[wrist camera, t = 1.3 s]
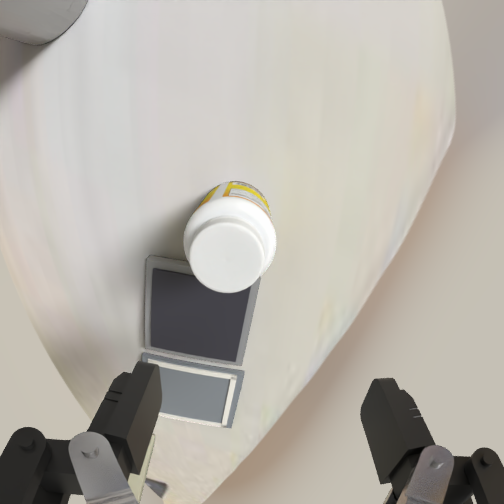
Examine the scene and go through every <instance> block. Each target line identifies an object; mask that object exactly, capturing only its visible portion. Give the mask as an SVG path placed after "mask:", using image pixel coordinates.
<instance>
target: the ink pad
mask: <svg viewBox="0 0 504 504" xmlns="http://www.w3.org/2000/svg"><path fill="white" fill-rule="evenodd" d="M260 280H261V276H260V277H259V278H258V279H257V280H256V281H255V282H254V283H253V284H252V285H251V286H249V287H248V288H246V289H244V290H242V291H239V292H234V293H222V292H217V291H214V290H211V289H209V288H208V287H206V286H205V285H203V284H202V283H201V282H200V281H199V280H198V279H197V278H196V276H195V275H194V273H193V271H192V269H191V266H190V264H189V262H186V261H181V260H175V259H169V258H164V257H158V256H153V255H150V256H149V257H148V258H147V260H146V285H145V349H150V350H154V351H159V352H163V353H168V354H173V355H178V356H183V357H189V358H194V359H199V360H205V361H211V362H217V363H223V364H230V365H237V366H242V362H243V358H244V353H245V349H246V344H247V340H248V335H249V331H250V326H251V322H252V317H253V312H254V308H255V303H256V298H257V294H258V289H259V284H260Z"/></svg>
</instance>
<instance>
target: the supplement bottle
mask: <svg viewBox="0 0 504 504" xmlns="http://www.w3.org/2000/svg"><path fill="white" fill-rule="evenodd" d="M183 245H184V251H185V255H186V258H187V260H188V262H189V264H190V266H191V269H192V271H193V273H194V275H195V276H196V278H197V279H198V280H199V281H200V282H201V283H202V284H203V285H205V286H206V287H208V288H209V289H211V290H214V291H217V292H222V293H234V292H239V291H242V290H244V289H246V288H248V287H249V286H251V285H252V284H253V283H254V282H255V281H256V280H257V279H258V278H259V277H260V276H261V275H262V274H263V273H264V272H265V271H266V270H267V269H268V267H269V266H270V264H271V262H272V260H273V258H274V255H275V251H276V233H275V229H274V225H273V222H272V218H271V214H270V210H269V206H268V204H267V201H266V199H265V198H264V196H263V195H262V193H261V192H260V191H259V190H258V189H256V188H255V187H254V186H252V185H250V184H247V183H245V182H240V181H230V182H225V183H222V184H220V185H218V186H217V187H215V188H214V189H212V190H211V191H210V192H209V193H208V195H207V196H206V197H205V199H204V200H203V201H202V203H201V204H200V205H199V207H198V208H197V209H196V210H195V212H194V213H193V215H192V216H191V218H190V219H189V221H188V223H187V225H186V228H185V232H184V238H183Z"/></svg>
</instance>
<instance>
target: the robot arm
mask: <svg viewBox="0 0 504 504" xmlns="http://www.w3.org/2000/svg"><path fill="white" fill-rule="evenodd" d="M87 1H88V0H0V36H3V37H6V38H10V39H13V40H17V41H21V42H24V43H28V44H31V45H40V44H44V43H47V42H49V41H52V40H53V39H55V38H56V37H58V36H59V35H61V34H62V33H63V32H64V31H66V30H67V29H68V28H69V27H70V26H71V25H72V24H73V23H74V21H75V20H76V19H77V18H78V16H79V15H80V14H81V12H82V10H83V9H84V7H85V5H86V3H87ZM161 404H162V387H161V378H160V369H159V365H158V364H153V363H147V362H141V361H138V362H137V364H136V366H135V368H134V370H133V372H132V373H127V372H123V373H122V374H120V375H119V376H118V377H117V378H115V379H114V380H113V382H112V384H111V386H110V388H109V391H108V392H107V393H106V395H105V397H104V400H103V401H102V403H101V405H100V407H99V409H98V411H97V413H96V415H95V417H94V419H93V421H92V423H91V425H90V427H89V429H88V430H87V432H83V433H80V434H78V435H76V436H75V437H74V438H73V439H72V440H54V439H46V438H45V437H44V435H43V434H42V433H41V432H40V431H39V430H37V429H35V428H32V427H24V428H21V429H18V430H17V431H16V432H14V433H13V435H12V436H11V438H10V440H9V442H8V443H7V445H6V447H5V449H4V451H3V453H2V455H1V456H0V504H68V501H69V497H70V495H71V494H77V495H84V497H85V500H86V502H87V504H139V503H138V501H137V499H136V497H135V495H134V494H133V492H132V490H131V488H130V486H129V484H128V479H129V476H130V473H132V474H136V475H140V472H141V469H142V466H143V462H144V459H145V456H146V453H147V449H148V446H149V443H150V440H151V437H152V433H153V430H154V427H155V424H156V421H157V418H158V415H159V412H160V409H161ZM360 415H361V421H362V424H363V428H364V431H365V434H366V437H367V440H368V444H369V446H370V450H371V453H372V457H373V460H374V464H375V467H376V470H377V474H378V477H379V481H380V484H385V483H391V484H392V488H391V490H390V491H389V493H388V495H387V497H386V499H385V501H384V503H383V504H473V502H472V499H471V496H472V495H473V494H474V496H475V499H476V502H477V504H504V467H503V465H502V463H501V461H500V459H499V457H498V455H497V454H496V453H495V452H494V451H493V450H491V449H489V448H479V449H477V450H476V451H475V452H474V453H473V454H472V456H471V457H463V456H453V455H452V454H451V452H450V451H449V450H447V449H446V448H444V447H442V446H439V445H435V442H434V440H433V438H432V436H431V434H430V432H429V430H428V428H427V426H426V424H425V422H424V419H423V417H421V413H420V411H419V410H418V409H417V406H416V404H415V402H414V400H413V398H412V397H411V396H410V395H409V394H408V393H407V392H406V391H405V390H400V389H399V387H398V385H397V383H396V381H395V379H393V378H381V379H374V380H373V381H372V383H371V386H370V388H369V390H368V393H367V395H366V397H365V400H364V402H363V404H362V407H361V414H360Z"/></svg>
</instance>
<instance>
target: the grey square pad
mask: <svg viewBox="0 0 504 504" xmlns="http://www.w3.org/2000/svg"><path fill="white" fill-rule="evenodd" d="M142 362H147V363H153V364H158V365H159V369H160V378H161V387H162V404H161V409H160V412H159V415H158V416H162V417H166V418H171V419H176V420H181V421H186V422H192V423H198V424H204V425H210V426H216V427H224V428H231V427H232V423H233V419H234V415H235V411H236V407H237V403H238V399H239V394H240V390H241V386H242V382H243V378H244V371H242V370H235V369H228V368H222V367H215V366H209V365H203V364H198V363H192V362H187V361H182V360H176V359H171V358H167V357H162V356H157V355H153V354H148V353H143V355H142Z"/></svg>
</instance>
